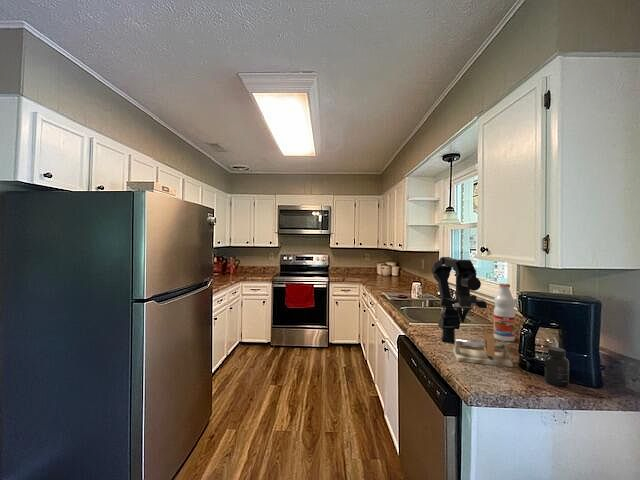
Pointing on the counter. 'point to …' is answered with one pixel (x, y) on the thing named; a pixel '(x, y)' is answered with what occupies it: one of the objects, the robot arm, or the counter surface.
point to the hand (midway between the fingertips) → (462, 321)
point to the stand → (482, 356)
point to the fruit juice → (504, 314)
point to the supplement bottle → (556, 367)
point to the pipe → (479, 344)
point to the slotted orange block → (489, 344)
